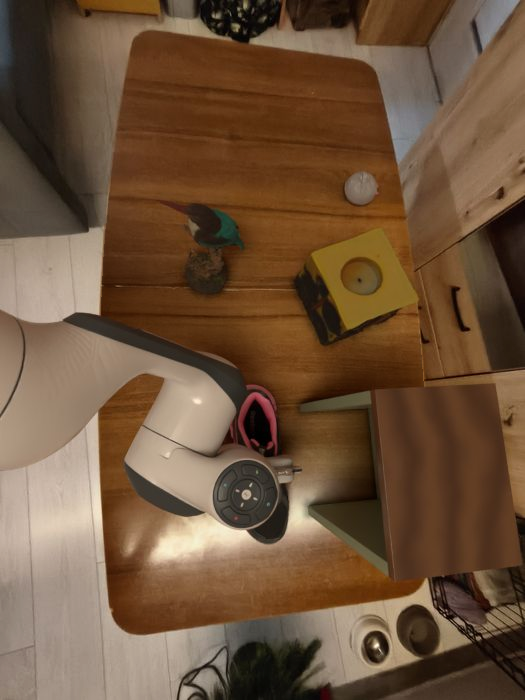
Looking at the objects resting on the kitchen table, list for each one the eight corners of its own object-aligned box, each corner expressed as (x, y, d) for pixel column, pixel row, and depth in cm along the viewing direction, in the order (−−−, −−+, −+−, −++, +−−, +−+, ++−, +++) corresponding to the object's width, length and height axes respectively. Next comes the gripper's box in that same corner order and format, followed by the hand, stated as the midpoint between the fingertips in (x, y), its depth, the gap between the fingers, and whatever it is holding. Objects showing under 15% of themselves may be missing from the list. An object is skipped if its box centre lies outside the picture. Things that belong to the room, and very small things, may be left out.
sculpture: (166, 250, 82) (155, 176, 58) (239, 257, 84) (258, 189, 60) (163, 290, 81) (150, 233, 56) (237, 297, 83) (255, 244, 58)
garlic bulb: (371, 213, 91) (387, 193, 83) (339, 208, 90) (353, 188, 82) (371, 185, 92) (388, 162, 84) (340, 180, 91) (354, 157, 83)
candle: (385, 322, 87) (423, 301, 72) (321, 349, 84) (348, 333, 69) (354, 256, 88) (385, 223, 74) (290, 281, 85) (309, 251, 71)
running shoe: (235, 544, 75) (243, 568, 62) (214, 390, 79) (218, 383, 66) (294, 532, 77) (314, 553, 64) (271, 382, 81) (285, 374, 68)
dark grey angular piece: (308, 514, 78) (388, 577, 46) (300, 404, 81) (369, 390, 49) (385, 506, 80) (513, 561, 48) (374, 400, 84) (487, 384, 51)
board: (388, 577, 46) (394, 582, 44) (369, 390, 49) (374, 389, 48) (513, 561, 48) (523, 565, 47) (487, 384, 51) (495, 383, 50)
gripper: (303, 448, 62) (284, 444, 75) (158, 458, 58) (165, 452, 72) (307, 493, 61) (286, 481, 74) (159, 506, 57) (165, 491, 71)
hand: (225, 467), depth 73 cm, fingers closed
